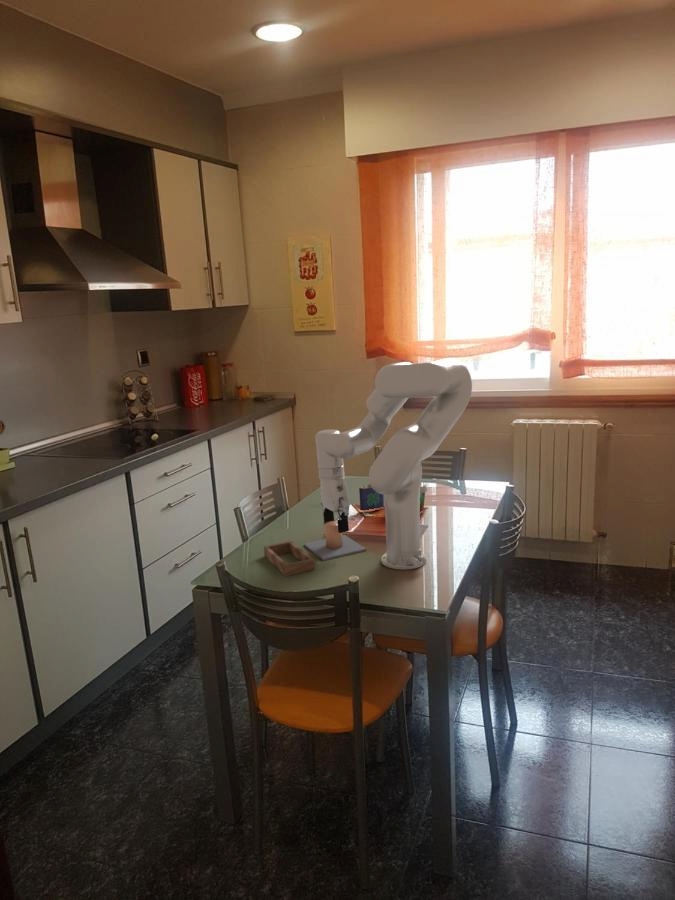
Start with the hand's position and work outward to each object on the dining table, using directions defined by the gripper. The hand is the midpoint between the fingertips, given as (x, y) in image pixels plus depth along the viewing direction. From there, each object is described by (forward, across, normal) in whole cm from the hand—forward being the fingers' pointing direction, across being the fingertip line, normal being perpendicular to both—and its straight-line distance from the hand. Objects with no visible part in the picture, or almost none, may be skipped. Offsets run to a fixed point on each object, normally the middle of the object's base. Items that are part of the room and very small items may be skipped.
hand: (336, 527), depth 196 cm
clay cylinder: (+6, +1, +1) cm, 6 cm away
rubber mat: (+6, +1, +1) cm, 7 cm away
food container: (+7, +15, -34) cm, 38 cm away
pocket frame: (+6, -2, +17) cm, 18 cm away
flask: (+6, +26, -26) cm, 38 cm away
